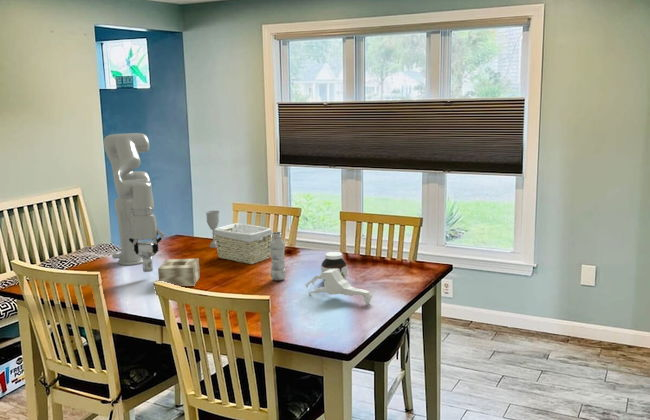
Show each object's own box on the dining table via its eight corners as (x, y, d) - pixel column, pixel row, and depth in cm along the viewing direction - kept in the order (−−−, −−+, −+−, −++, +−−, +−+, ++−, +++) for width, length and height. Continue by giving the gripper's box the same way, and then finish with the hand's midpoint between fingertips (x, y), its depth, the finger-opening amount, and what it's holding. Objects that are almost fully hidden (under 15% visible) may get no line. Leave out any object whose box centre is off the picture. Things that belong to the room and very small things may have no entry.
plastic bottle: (289, 278, 256) (287, 231, 253) (282, 282, 250) (280, 235, 246) (274, 277, 258) (272, 230, 255) (268, 281, 252) (266, 234, 248)
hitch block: (159, 287, 248) (158, 268, 246) (166, 277, 261) (165, 259, 260) (194, 286, 248) (193, 267, 247) (199, 276, 262) (198, 258, 260)
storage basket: (274, 258, 289) (273, 227, 286) (251, 266, 276) (249, 234, 273) (237, 251, 303) (236, 222, 300) (214, 259, 290) (212, 228, 287)
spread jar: (327, 286, 244) (327, 258, 242) (315, 279, 254) (314, 251, 252) (353, 281, 250) (353, 253, 248) (340, 274, 260) (339, 247, 258)
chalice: (224, 245, 315) (222, 211, 312) (216, 248, 309) (214, 213, 306) (212, 244, 318) (210, 210, 315) (204, 247, 312) (202, 212, 309)
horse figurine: (317, 319, 233) (370, 305, 219) (302, 278, 234) (354, 262, 220) (324, 315, 237) (377, 301, 223) (310, 275, 238) (361, 259, 224)
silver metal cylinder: (137, 273, 256) (135, 245, 253) (141, 268, 263) (139, 241, 260) (154, 273, 256) (152, 245, 254) (158, 267, 263) (156, 240, 260)
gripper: (119, 214, 250) (123, 256, 254) (162, 213, 251) (165, 255, 254) (124, 210, 257) (128, 251, 261) (166, 209, 258) (169, 250, 262)
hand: (146, 252), depth 258 cm, fingers closed on silver metal cylinder, 7 cm apart
